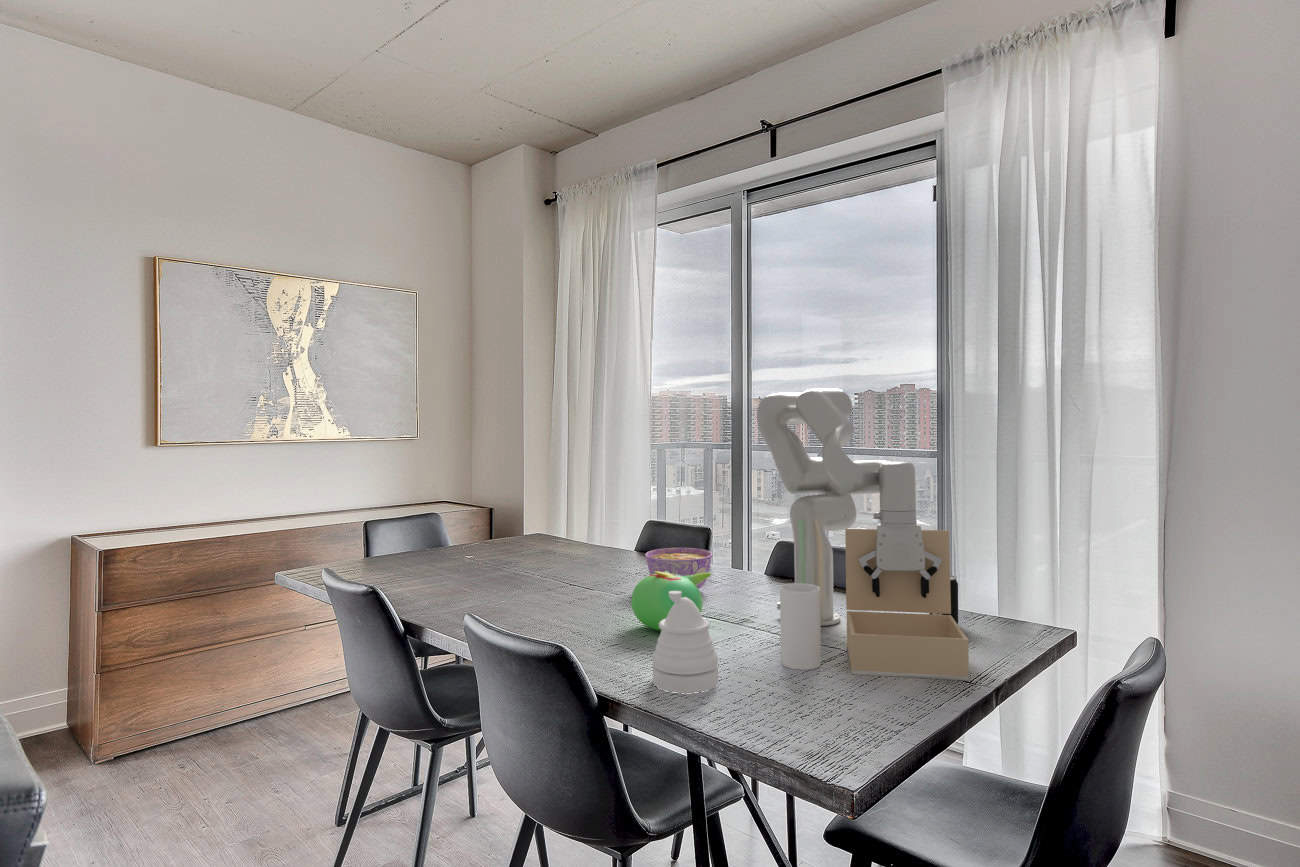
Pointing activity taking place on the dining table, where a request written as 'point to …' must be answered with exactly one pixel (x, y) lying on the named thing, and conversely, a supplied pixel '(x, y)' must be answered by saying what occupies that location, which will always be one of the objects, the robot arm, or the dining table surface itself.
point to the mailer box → (907, 645)
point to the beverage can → (952, 599)
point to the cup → (800, 626)
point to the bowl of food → (679, 561)
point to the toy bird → (663, 595)
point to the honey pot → (684, 650)
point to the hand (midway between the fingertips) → (900, 596)
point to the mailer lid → (897, 577)
